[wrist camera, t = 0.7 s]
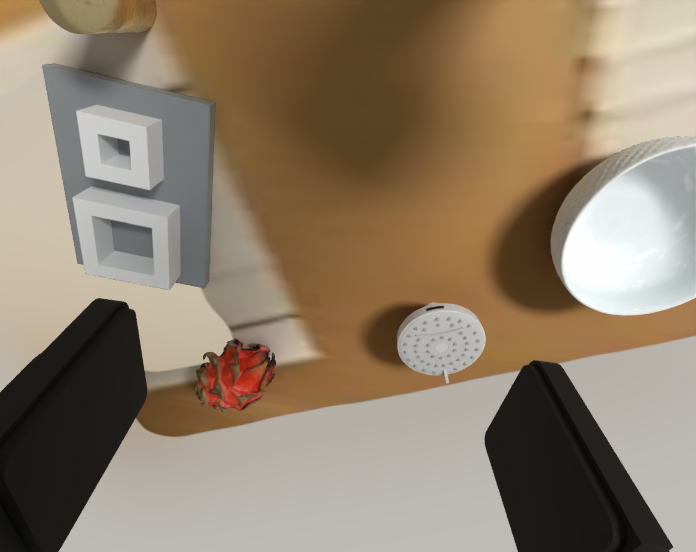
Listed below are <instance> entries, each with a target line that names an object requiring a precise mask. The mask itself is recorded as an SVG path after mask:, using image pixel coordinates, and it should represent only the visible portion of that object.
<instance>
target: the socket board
mask: <svg viewBox="0 0 696 552" xmlns="http://www.w3.org/2000/svg"><path fill="white" fill-rule="evenodd" d="M42 68H43V73H44V78H45V84H46V90H47V95H48V101H49V107H50V112H51V118H52V123H53V129H54V134H55V140H56V145H57V151H58V157H59V162H60V168H61V173H62V179H63V184H64V190H65V195H66V201H67V207H68V212H69V218H70V224H71V229H72V234H73V240H74V246H75V251H76V257H77V263H78V264H83V265H84V269H85V274H88V275H93V276H99V277H104V278H109V279H114V280H119V281H125V282H130V283H135V284H140V285H145V286H151V287H156V288H161V289H166V290H170V289H171V288H172V286H173V285H174V283H180V284H186V285H191V286H196V287H201V288H205V287H206V285H207V283H208V282H209V264H210V237H211V210H212V183H213V155H214V128H215V102H211V101H207V100H203V99H199V98H195V97H191V96H186V95H182V94H178V93H174V92H170V91H166V90H161V89H157V88H153V87H149V86H145V85H141V84H137V83H132V82H128V81H124V80H120V79H116V78H112V77H107V76H103V75H99V74H95V73H91V72H87V71H83V70H78V69H74V68H70V67H66V66H62V65H58V64H46V65H42Z"/></svg>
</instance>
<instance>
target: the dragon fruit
mask: <svg viewBox="0 0 696 552" xmlns="http://www.w3.org/2000/svg"><path fill="white" fill-rule="evenodd" d="M227 343H228V344H227V345H226V347H225V348H224V352H223V353H222V354H221V356H217V355H216V354H215V353H213V352H208V353H205V354H204V356H203V359H205V357H206V355H207V356H208V358H209V361H210V363H203V364H202V365H201V368H200V369H198V370H197V371H196V373H197V375H198V376H197V377H198V378H199V380H198V381H197V382H196V387H195V391H196V395H195V396H196V397H197V396H198V398H199V400H200V401H203V403H202V405H204V406H210V405H212V406H213V407H214V408H215V409H219V408H220V409H221V411H223V412H225V411H226V409H227V408H236V409H237V410H238V411H243V410H245V409H247V408H248V407H249V406H250V405H252V404H253V403H255V402H256V401H258V400H259V399H260V398H261V397H262V396H263V394H264V393H265V391H266V388H267V387H268V385H269V384H270V383H271V382H272V380H273V379H272V378H274V375H275V373H274V374H273V370H274V368H275V366H276V361H275V355H274V353H272V360H271V361H270V357H269V354H270V353H269V352H270V349H269V348H268V347H265V346H261V345H259V344H257V345H252V346H250V347H253V346H256V347H253V349H256V348H260V349H259V350H257V351H252V350H242V347H243V343H242V344H241V342H240V341H239V340H237V339H233V340H231V341H228V342H227ZM202 367H204V368H202Z"/></svg>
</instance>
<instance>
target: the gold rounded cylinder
mask: <svg viewBox="0 0 696 552" xmlns="http://www.w3.org/2000/svg"><path fill="white" fill-rule="evenodd" d="M39 1H40V3H41V5H42V7H43V9H44V10H45V12H46V13H47V14H48V16H49V17H50V18H51V19H52V20H53V21H54V22H55V23H56V24H57V25H59V26H60V27H61V28H63V29H65V30H67V31H69V32H72V33H76V34H98V33H135V32H144V31H146V30H148V29H149V28H150V27H151V26H152V25H153V24H154V21H155V19H156V3H155V0H39Z"/></svg>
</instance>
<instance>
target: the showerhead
mask: <svg viewBox="0 0 696 552" xmlns="http://www.w3.org/2000/svg"><path fill="white" fill-rule="evenodd" d="M484 346H485V333H484V330H483V328H482V325H481V323H480V321H479V319H478V318H477V317H476V316H475V315H474V314H473V313H472V312H471V311H470V310H468V309H466V308H464V307H462V306H459V305H455V304H447V303H441V304H437V303H429V304H427V305H425V307H423V308H420V309H418V310H416V311H415V312H413V313H412V314H410V315H409V316H408V317H407V318H406V319H405V320H404V321H403V322H402V324H401V326H400V328H399V330H398V333H397V348H398V353H399V356H400V358H401V359H402V361H403V362H404V363H405V364H406V365H407V366H408V367H410V368H411V369H413V370H415V371H417V372H420V373H424V374H428V375H444V376H445V381H446V383H449V380H448V375H447V374H451V373H455V372H458V371H460V370H463V369H464V368H466V367H468V366H470V365H471V364H472V363H473V362H474V361H476V360H477V358H478V357H479V356H480V355H481V353H482V351H483V349H484Z"/></svg>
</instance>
